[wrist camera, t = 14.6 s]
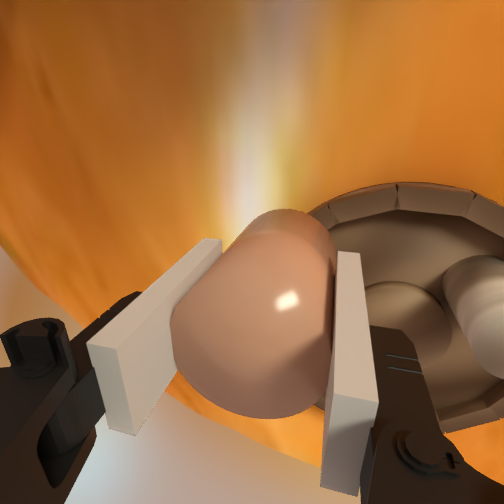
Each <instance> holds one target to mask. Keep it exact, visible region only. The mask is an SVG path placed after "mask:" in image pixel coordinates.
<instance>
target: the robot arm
mask: <svg viewBox="0 0 504 504" xmlns="http://www.w3.org/2000/svg"><path fill="white" fill-rule="evenodd" d="M221 255H222V240H221V239H211V238H203V239H202V240H201V241H200V242H199V243H198V244H197V245H196V246H194V247H193V248H192V249H191V250H190V251H189V252H188V253H187V254H185V255H184V256H183V257H182V258H181V259H180V260H179V261H178V262H176V263H175V264H174V265H173V266H172V267H171V268H170V269H169V270H167V271H166V272H165V273H164V274H163V275H162V276H161V277H160V278H158V279H157V280H156V281H155V282H154V283H153V284H152V285H151V286H149V287H148V288H147V289H146V290H145V291H144V292H138V291H136V292H134V293H132V294H130V295H128V296H126V297H123V298H121V299H120V300H119V301H118V302H117V303H115V304H114V305H113V306H112V307H111V308H110V310H107V311H106V312H104V313H103V314H102V315H101V316H100V318H97V319H96V320H95V321H94V322H92V323H91V324H90V325H89V326H88V327H86V328H85V329H84V330H83V331H82V332H80V333H79V334H78V335H77V336H76V337H74V338H73V339H72V340H71V341H69V338H68V334H67V331H66V328H65V324H64V323H63V322H62V321H60V320H59V319H55V318H39V319H34V320H30V321H26V322H23V323H21V324H19V325H16V326H14V327H12V328H10V329H8V330H7V331H5V332H4V333H3V334H1V335H0V338H1V341H2V343H3V345H4V348H5V351H6V353H7V355H8V358H9V360H10V362H11V366H10V367H3V368H0V504H64V503H65V501H66V499H67V497H68V495H69V493H70V491H71V489H72V487H73V485H74V483H75V481H76V479H77V477H78V475H79V474H80V472H81V470H82V468H83V466H84V464H85V462H86V460H87V458H88V456H89V454H90V452H91V450H92V448H93V446H94V443H95V440H96V437H97V435H96V429H95V424H96V423H97V422H98V421H99V419H100V418H101V417H102V416H103V415H104V413H105V414H106V418H107V422H108V426H109V429H112V430H116V431H119V432H123V433H126V434H130V435H134V436H136V435H137V433H138V431H139V430H140V428H141V427H142V425H143V424H144V422H145V421H146V419H147V417H148V416H149V414H150V413H151V411H152V410H153V408H154V407H155V405H156V403H157V402H158V400H159V399H160V397H161V396H162V394H163V393H164V391H165V389H166V388H167V386H168V385H169V383H170V382H171V380H172V379H173V377H174V375H175V374H176V372H177V371H178V367H177V365H176V363H175V361H174V357H173V348H172V340H171V332H170V320H171V316H172V314H173V312H174V310H175V308H176V307H177V305H178V304H179V303H180V301H181V300H182V299H183V298H184V297H185V296H186V295H187V293H188V292H189V291H190V290H191V289H192V288H193V287H194V286H195V284H196V283H197V282H198V281H199V280H200V279H201V278H202V277H203V276H204V274H205V273H206V272H207V271H208V270H209V269H210V268H211V267H212V265H213V264H214V263H215V262H216V261H217V260H218V259H219V258H220V256H221ZM320 486H321V487H324V488H327V489H331V490H334V491H338V492H342V493H345V494H349V495H352V496H356V497H357V496H358V492H359V487H360V493H361V504H504V485H502V484H500V483H498V482H496V481H494V480H492V479H490V478H488V477H487V476H485V475H483V474H481V473H480V472H478V471H476V470H475V469H474V468H473V467H471V466H470V465H469V464H467V463H466V462H465V461H464V458H463V457H462V455H461V454H460V453H459V451H458V450H457V448H456V447H455V446H454V444H453V443H452V442H451V441H450V440H449V439H447V438H446V437H445V436H444V435H443V433H442V431H441V429H440V426H439V423H438V420H437V417H436V414H435V410H434V407H433V404H432V401H431V398H430V394H429V391H428V388H427V385H426V382H425V379H424V375H422V369H421V366H420V363H419V362H418V356H417V353H416V350H415V347H414V344H413V342H412V341H411V340H410V339H409V338H408V337H407V336H406V335H405V333H404V332H403V331H402V330H399V329H393V328H386V327H379V326H373V325H369V322H368V314H367V306H366V298H365V291H364V283H363V275H362V267H361V259H360V253H353V252H343V251H338V255H337V263H336V272H335V284H334V308H333V331H332V355H331V364H330V371H329V379H328V386H327V389H326V397H325V414H324V431H323V448H322V465H321V483H320Z"/></svg>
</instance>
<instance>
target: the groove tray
mask: <svg viewBox="0 0 504 504" xmlns="http://www.w3.org/2000/svg"><path fill="white" fill-rule="evenodd" d="M307 214H308V215H310V216H312V217H314V218H315V219H316V220H318V221H319V222H320V223H321V224H322V225H323V226H324V227H325V228H326V229H327V231H328V232H329V234H330V235H331V237H332V239H333V242H334V245H335V249H336V263H337V255H338V251H343V252H353V253H360V259H361V267H362V275H363V283H364V291H365V298H366V306H367V314H368V322H369V325H373V326H379V327H386V328H393V329H399V330H402V331H403V332H404V333H405V335H406V336H407V337H408V338H409V339H410V340H411V341H412V342H413V344H414V347H415V350H416V353H417V356H418V362H419V363H420V366H421V369H422V375H424V379H425V382H426V385H427V388H428V391H429V394H430V398H431V401H432V404H433V407H434V410H435V414H436V417H437V420H438V423H439V426H440V429H441V431H442V433H443V434H445V433H444V431H445V432H446V433H450V432H454V431H458V430H462V429H466V428H470V427H473V426H477V425H481V424H485V423H489V422H493V421H497V420H500V418H502V419H503V418H504V379H501V378H499V377H496V376H494V375H492V374H490V373H489V372H487V371H486V370H485V369H484V368H483V367H482V366H481V365H480V364H479V362H478V360H477V358H476V357H475V355H474V353H473V351H472V349H471V347H470V345H469V343H468V341H467V339H466V337H465V335H464V333H463V331H462V329H461V327H460V325H459V323H458V321H457V320H456V318H455V316H454V314H453V312H452V310H451V308H450V306H449V304H448V302H447V300H446V298H445V296H444V294H443V292H442V279H443V277H444V275H445V273H446V271H447V270H448V269H449V268H450V267H451V266H452V265H453V264H455V263H456V262H458V261H460V260H462V259H464V258H467V257H470V256H476V255H490V256H495V257H498V258H500V259H502V260H504V207H503V206H501V205H500V204H498V203H496V202H494V201H492V200H490V199H488V198H485V197H483V196H481V195H479V194H478V193H476V192H474V191H472V190H471V191H470V190H469V189H460V188H456V187H453V186H447V185H441V184H434V183H425V182H398V183H387V184H379V185H374V186H370V187H365V188H360V189H357V190H354V191H351V192H348V193H345V194H342V195H340V196H338V197H335V198H333V199H331V200H329V201H327V202H325V203H323V204H321V205H320V206H318V207H317V208H315V209H313V210H312V211H310V212H309V213H307ZM325 397H326V391H325V392H324V393H323V395H322V396H321V398H320V399H319V400H318V401H317V402H316V403H315V404H313V405H315V406H317V407H318V408H320V409H322V410H324V411H325ZM499 417H500V418H499Z"/></svg>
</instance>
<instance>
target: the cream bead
mask: <svg viewBox="0 0 504 504" xmlns="http://www.w3.org/2000/svg"><path fill="white" fill-rule="evenodd" d="M442 292H443V294H444V296H445V298H446V300H447V302H448V304H449V306H450V308H451V310H452V312H453V314H454V316H455V318H456V320H457V321H458V323H459V325H460V327H461V329H462V331H463V333H464V335H465V337H466V339H467V341H468V343H469V345H470V347H471V349H472V351H473V353H474V355H475V357H476V358H477V360H478V362H479V364H480V365H481V366H482V367H483V368H484V369H485V370H486V371H487V372H489V373H490V374H492V375H494V376H496V377H499V378H501V379H504V260H502V259H500V258H498V257H495V256H490V255H476V256H470V257H467V258H464V259H462V260H460V261H458V262H456V263H455V264H453V265H452V266H451V267H450V268H449V269H448V270H447V271H446V273H445V275H444V277H443V279H442Z"/></svg>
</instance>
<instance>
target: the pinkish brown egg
mask: <svg viewBox="0 0 504 504" xmlns="http://www.w3.org/2000/svg"><path fill="white" fill-rule="evenodd" d="M335 272H336V249H335V245H334V242H333V239H332V237H331V235H330V234H329V232H328V231H327V229H326V228H325V227H324V226H323V225H322V224H321V223H320V222H319V221H318V220H316V219H315V218H314V217H312V216H310V215H308V214H306V213H304V212H301V211H297V210H292V209H277V210H272V211H269V212H266V213H264V214H262V215H260V216H258V217H257V218H256V219H254V220H253V221H252V222H251V223H250V224H249V225H248V226H247V227H246V229H245V230H244V231H243V232H242V233H241V234H240V235H239V236H238V237H237V239H236V240H235V241H234V242H233V243H232V244H231V245H230V246H229V248H228V249H227V250H226V251H225V252H224V253H223V254H222V255H221V256H220V258H219V259H218V260H217V261H216V262H215V263H214V264H213V265H212V267H211V268H210V269H209V270H208V271H207V272H206V273H205V274H204V276H203V277H202V278H201V279H200V280H199V281H198V282H197V283H196V284H195V286H194V287H193V288H192V289H191V290H190V291H189V292H188V293H187V295H186V296H185V297H184V298H183V299H182V300H181V301H180V303H179V304H178V305H177V307H176V308H175V310H174V312H173V314H172V316H171V320H170V332H171V340H172V348H173V357H174V361H175V363H176V365H177V367H178V369H179V370H180V372H181V374H182V375H183V376H184V378H185V379H186V380H187V381H188V382H189V384H190V385H191V386H192V387H193V388H194V389H195V390H196V391H198V392H199V393H200V394H201V395H202V396H204V397H205V398H206V399H208V400H209V401H211V402H212V403H214V404H216V405H217V406H219V407H221V408H223V409H225V410H228V411H230V412H233V413H236V414H239V415H242V416H247V417H252V418H259V419H277V418H284V417H289V416H293V415H295V414H298V413H301V412H302V411H304V410H306V409H308V408H309V407H311V406H312V405H313V404H315V403H316V402H317V401H318V400H319V399H320V398H321V396H322V395H323V393H324V392H325V391H326V389H327V386H328V379H329V371H330V364H331V355H332V331H333V308H334V284H335Z"/></svg>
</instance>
